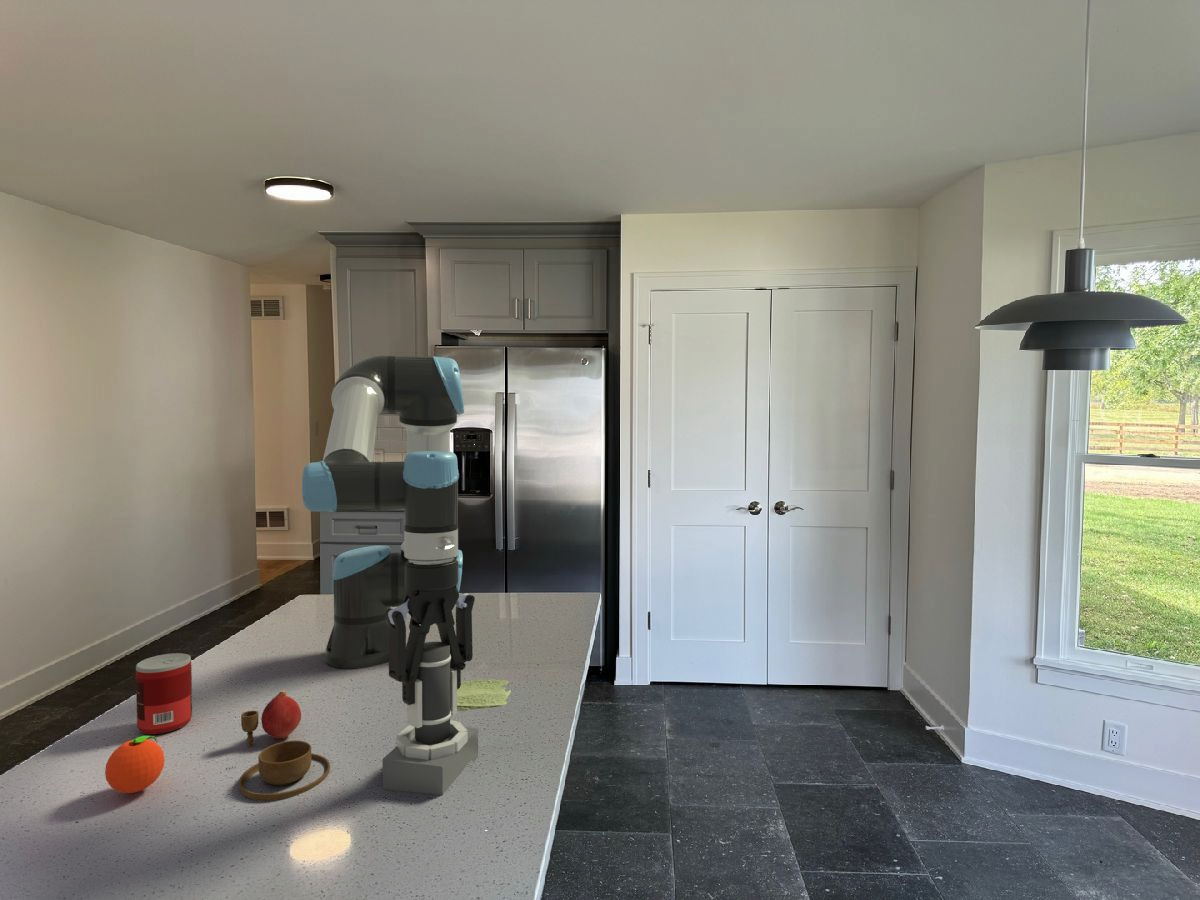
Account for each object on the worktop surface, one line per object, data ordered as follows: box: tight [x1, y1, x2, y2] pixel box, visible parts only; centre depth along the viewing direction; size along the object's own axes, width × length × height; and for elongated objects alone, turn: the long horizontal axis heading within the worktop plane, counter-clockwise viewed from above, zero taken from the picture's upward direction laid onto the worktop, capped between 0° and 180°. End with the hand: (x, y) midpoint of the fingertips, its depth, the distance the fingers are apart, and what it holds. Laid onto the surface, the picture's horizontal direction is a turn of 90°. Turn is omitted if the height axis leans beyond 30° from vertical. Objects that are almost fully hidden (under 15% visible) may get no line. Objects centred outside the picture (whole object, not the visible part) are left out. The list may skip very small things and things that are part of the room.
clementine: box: [104, 735, 166, 794], centre depth 97 cm, size 8×7×7 cm
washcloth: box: [457, 678, 512, 712], centre depth 126 cm, size 13×18×3 cm
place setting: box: [225, 710, 331, 802], centre depth 103 cm, size 18×20×6 cm
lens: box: [415, 641, 452, 744], centre depth 100 cm, size 5×5×13 cm
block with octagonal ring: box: [382, 719, 479, 796], centre depth 101 cm, size 12×9×6 cm
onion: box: [260, 690, 302, 740], centre depth 112 cm, size 6×6×8 cm
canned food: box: [135, 652, 193, 735], centre depth 117 cm, size 8×8×11 cm
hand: (432, 717), depth 100 cm, fingers closed on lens, 5 cm apart
